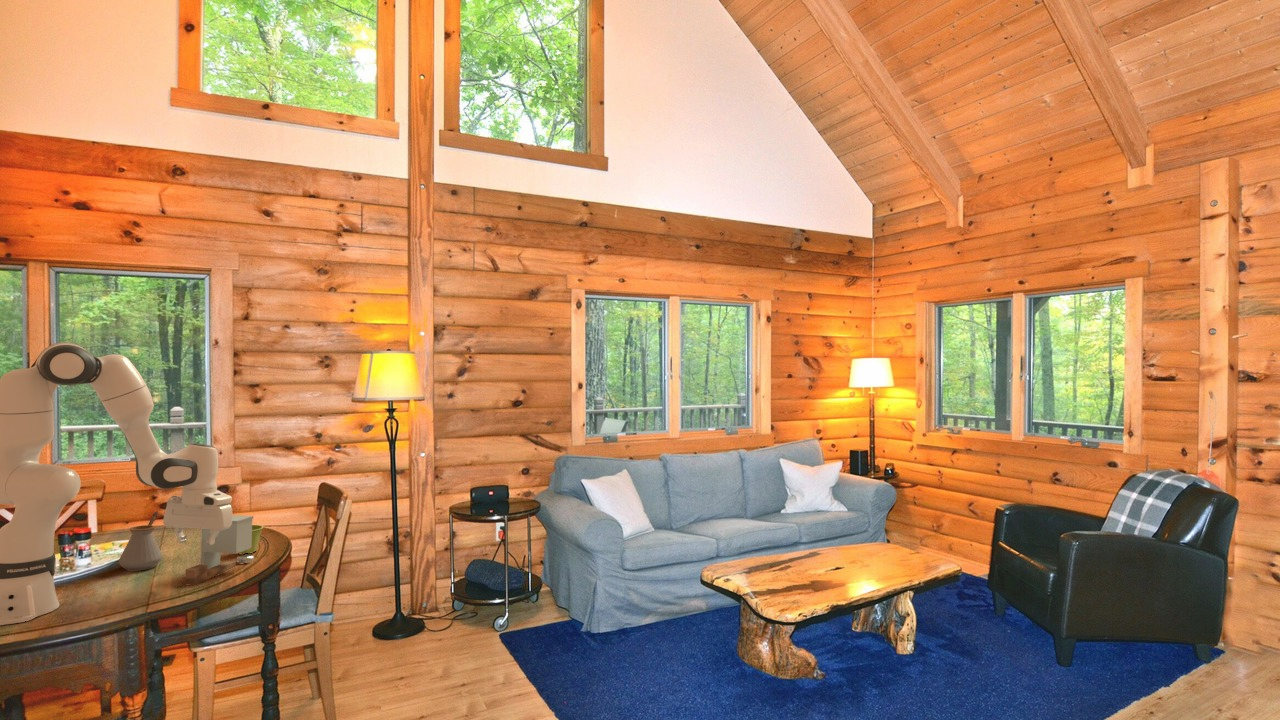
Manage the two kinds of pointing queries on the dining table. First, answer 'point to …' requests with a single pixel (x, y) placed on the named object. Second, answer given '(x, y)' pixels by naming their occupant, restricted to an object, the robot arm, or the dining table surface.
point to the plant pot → (254, 538)
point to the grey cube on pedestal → (227, 540)
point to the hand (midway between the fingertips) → (195, 543)
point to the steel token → (245, 558)
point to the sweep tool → (206, 572)
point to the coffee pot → (141, 549)
